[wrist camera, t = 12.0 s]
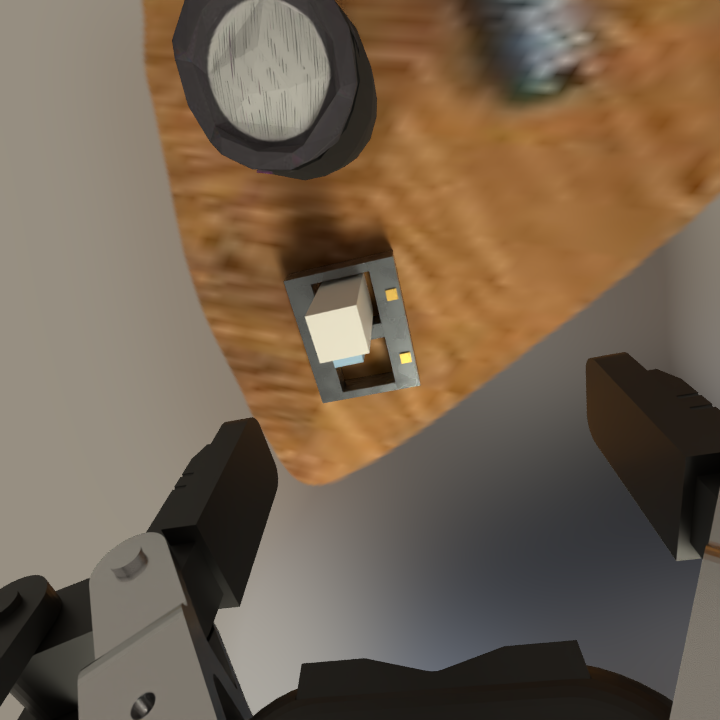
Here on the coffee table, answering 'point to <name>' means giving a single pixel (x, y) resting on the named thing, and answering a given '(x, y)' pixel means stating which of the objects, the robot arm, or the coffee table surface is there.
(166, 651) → the robot arm
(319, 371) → the panel
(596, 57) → the coffee table surface
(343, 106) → the portable speaker
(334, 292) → the plug
